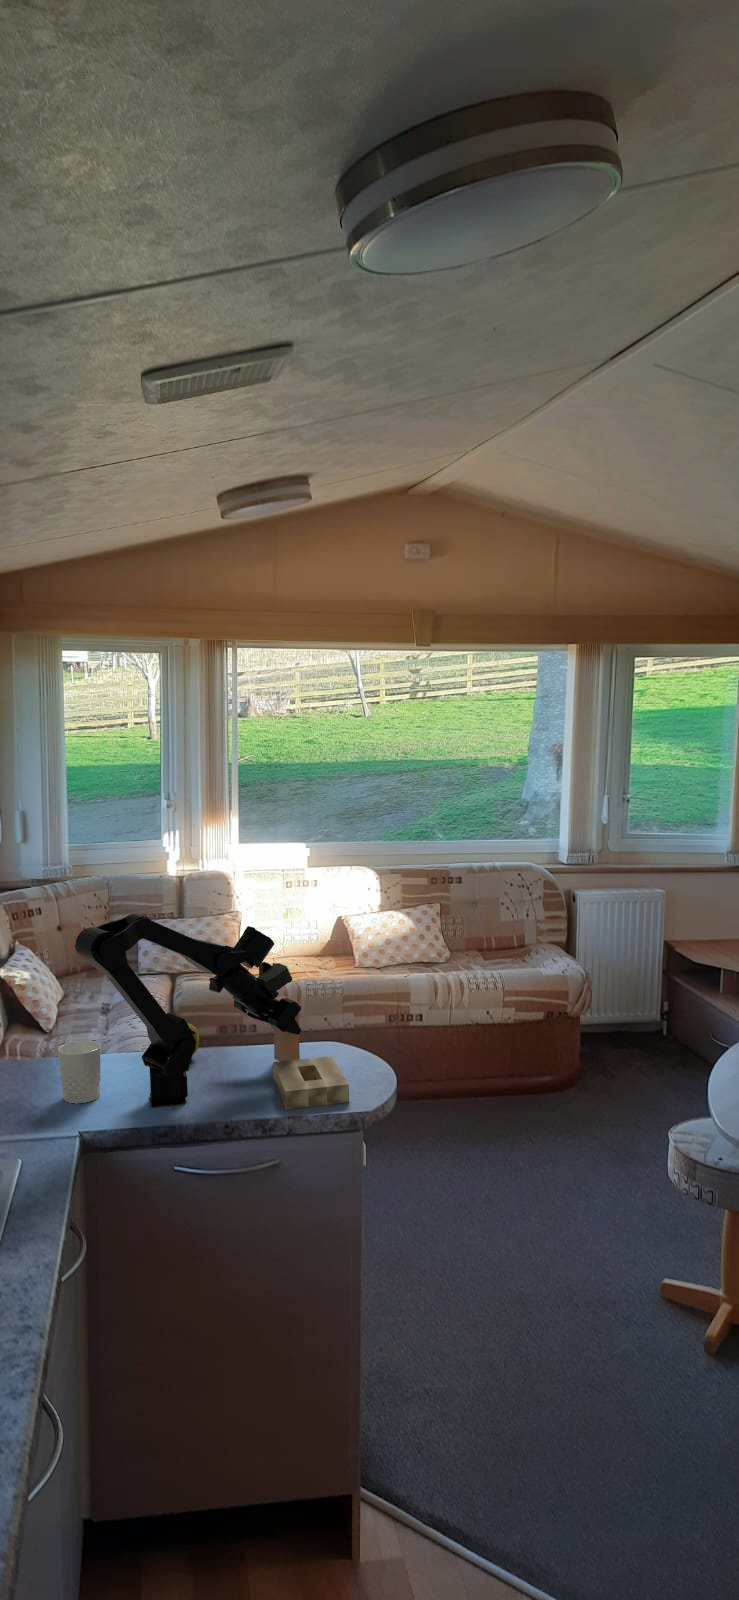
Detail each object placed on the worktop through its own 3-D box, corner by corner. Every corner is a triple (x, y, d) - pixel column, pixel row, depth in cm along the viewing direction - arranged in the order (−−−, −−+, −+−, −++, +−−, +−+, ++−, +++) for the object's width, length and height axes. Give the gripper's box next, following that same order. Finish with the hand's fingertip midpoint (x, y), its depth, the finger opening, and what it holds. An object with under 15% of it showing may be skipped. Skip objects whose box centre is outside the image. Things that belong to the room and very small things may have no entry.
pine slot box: (286, 1109, 191) (285, 1091, 191) (273, 1079, 207) (272, 1062, 206) (349, 1102, 194) (348, 1084, 194) (332, 1072, 210) (331, 1056, 209)
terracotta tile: (289, 1066, 211) (287, 1004, 210) (274, 1058, 216) (272, 997, 215) (299, 1063, 213) (298, 1002, 211) (284, 1056, 217) (283, 995, 216)
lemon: (202, 1054, 222) (201, 1018, 221) (195, 1063, 216) (194, 1026, 216) (177, 1054, 222) (176, 1018, 222) (170, 1063, 217) (168, 1026, 216)
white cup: (110, 1096, 199) (108, 1046, 198) (74, 1109, 193) (72, 1057, 192) (88, 1086, 205) (86, 1037, 204) (52, 1098, 199) (50, 1048, 198)
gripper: (291, 962, 202) (339, 1007, 210) (245, 945, 217) (291, 987, 225) (257, 1009, 198) (307, 1053, 206) (212, 988, 213) (260, 1030, 221)
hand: (291, 1028), depth 214 cm, fingers closed on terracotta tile, 6 cm apart
